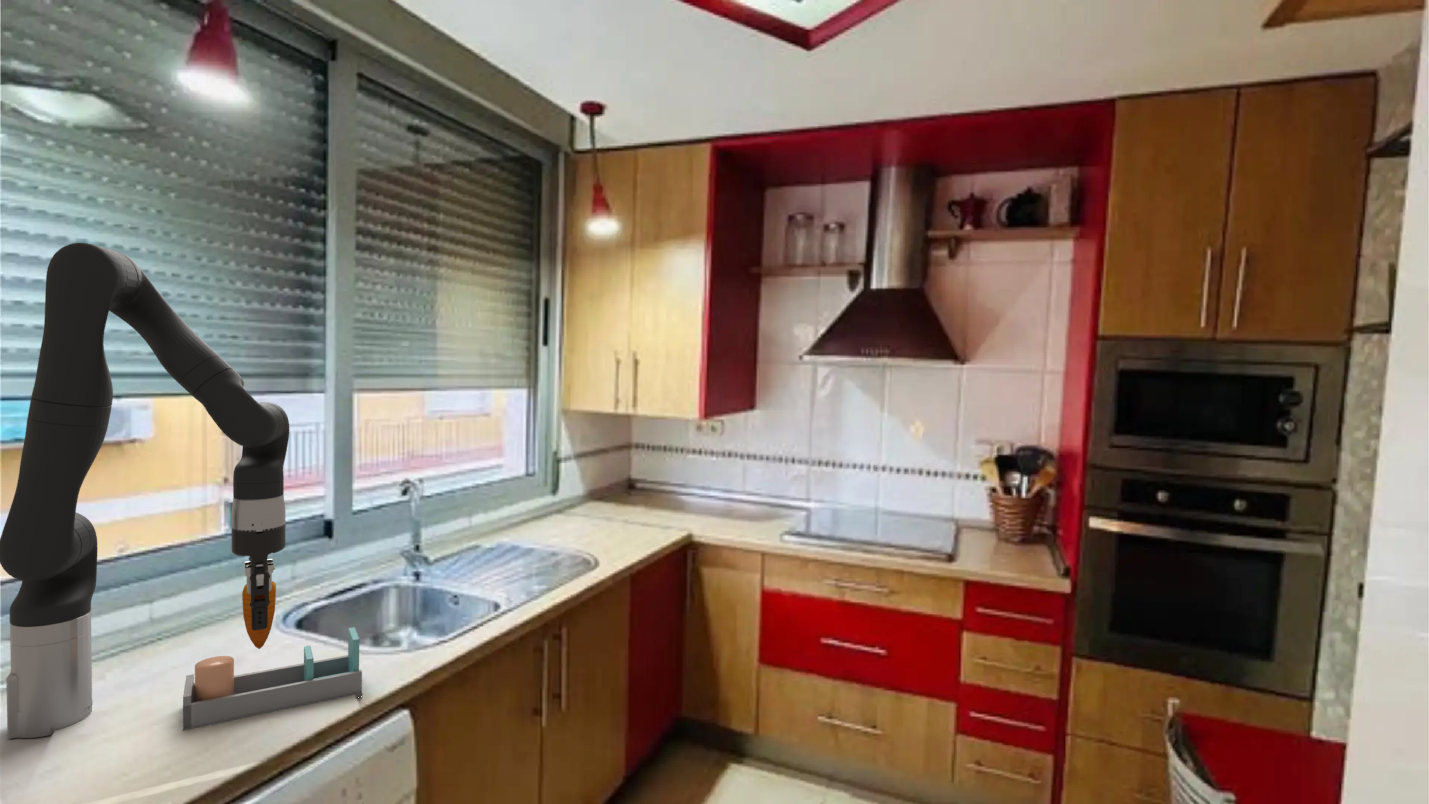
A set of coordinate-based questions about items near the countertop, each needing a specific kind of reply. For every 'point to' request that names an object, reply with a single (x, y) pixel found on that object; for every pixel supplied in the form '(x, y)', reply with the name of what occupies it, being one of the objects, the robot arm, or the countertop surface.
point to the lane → (272, 692)
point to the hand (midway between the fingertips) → (259, 623)
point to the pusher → (352, 656)
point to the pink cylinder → (214, 678)
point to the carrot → (255, 635)
